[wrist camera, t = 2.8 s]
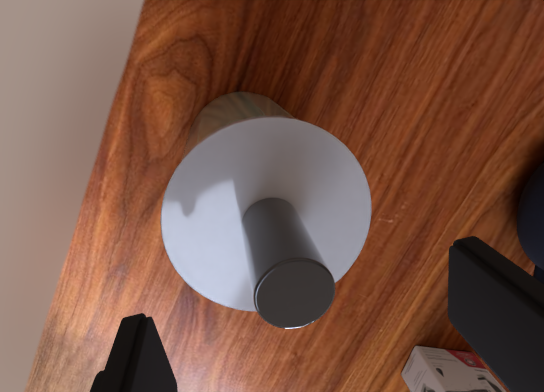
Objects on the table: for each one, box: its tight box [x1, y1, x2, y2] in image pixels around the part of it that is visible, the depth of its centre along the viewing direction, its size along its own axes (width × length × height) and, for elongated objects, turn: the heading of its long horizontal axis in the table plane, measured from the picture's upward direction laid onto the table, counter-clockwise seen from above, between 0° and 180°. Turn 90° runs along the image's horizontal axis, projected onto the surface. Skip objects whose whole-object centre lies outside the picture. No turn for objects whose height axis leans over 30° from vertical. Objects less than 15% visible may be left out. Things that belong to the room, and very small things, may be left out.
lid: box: [161, 116, 371, 329], centre depth 15 cm, size 10×10×7 cm
